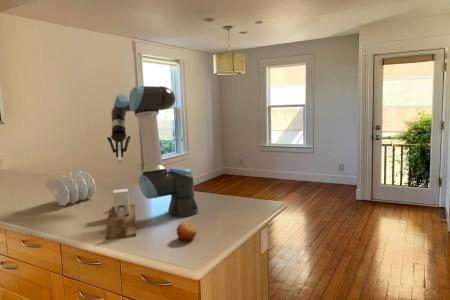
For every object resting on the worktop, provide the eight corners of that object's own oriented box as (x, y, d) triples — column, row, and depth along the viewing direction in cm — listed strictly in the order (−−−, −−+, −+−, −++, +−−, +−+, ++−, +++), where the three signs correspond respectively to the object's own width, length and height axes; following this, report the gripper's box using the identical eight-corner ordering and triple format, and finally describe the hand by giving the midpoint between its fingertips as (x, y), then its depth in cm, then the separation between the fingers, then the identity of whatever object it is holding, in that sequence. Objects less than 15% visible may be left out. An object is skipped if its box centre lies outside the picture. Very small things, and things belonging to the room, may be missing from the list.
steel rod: (125, 202, 184) (125, 197, 183) (124, 228, 144) (123, 222, 143) (120, 202, 183) (119, 197, 183) (117, 229, 143) (116, 222, 143)
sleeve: (129, 210, 174) (127, 188, 172) (129, 214, 168) (127, 191, 167) (115, 212, 172) (114, 189, 171) (115, 216, 167) (113, 192, 165)
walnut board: (134, 206, 188) (133, 192, 187) (136, 236, 144) (134, 217, 143) (112, 208, 185) (110, 194, 184) (106, 240, 141) (104, 221, 140)
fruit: (177, 231, 144) (185, 216, 142) (192, 241, 143) (201, 226, 141) (169, 238, 137) (177, 222, 135) (185, 249, 135) (194, 234, 133)
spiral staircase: (96, 203, 210) (60, 213, 188) (78, 189, 217) (41, 197, 195) (104, 178, 205) (68, 185, 183) (85, 164, 212) (48, 169, 190)
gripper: (130, 132, 204) (132, 164, 190) (107, 133, 200) (108, 166, 187) (129, 124, 198) (132, 156, 184) (106, 125, 195) (106, 158, 181)
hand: (119, 161), depth 186 cm, fingers closed
